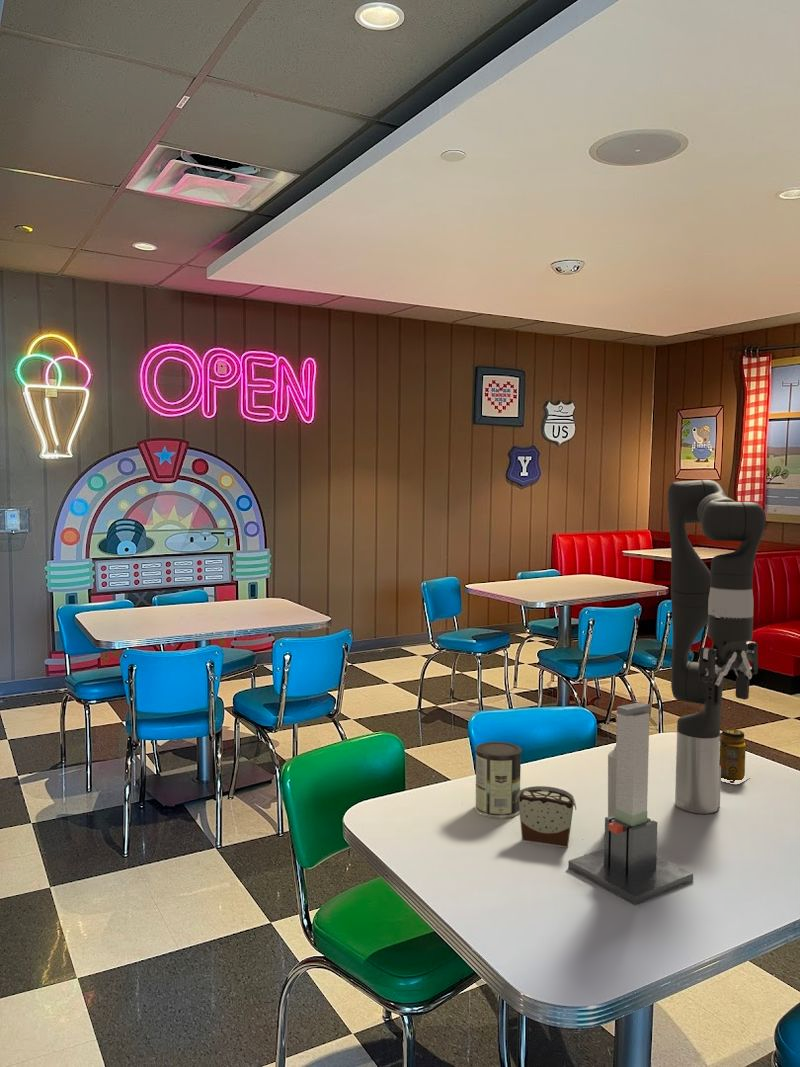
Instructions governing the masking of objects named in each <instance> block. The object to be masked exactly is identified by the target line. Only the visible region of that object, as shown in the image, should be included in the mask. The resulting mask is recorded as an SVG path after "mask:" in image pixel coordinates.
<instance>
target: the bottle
mask: <svg viewBox="0 0 800 1067" xmlns="http://www.w3.org/2000/svg"><path fill="white" fill-rule="evenodd" d="M615 722H616V733H615V734H616V736H615V737H616V738H615V739H616V741H615V746H614V748H613V749H612V750H611V751H609V752H608V754H607V817H608V816H612V815H615V808H616V774H617V730H618V714H617V715H616V720H615Z"/></svg>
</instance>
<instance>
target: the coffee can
mask: <svg viewBox="0 0 800 1067" xmlns="http://www.w3.org/2000/svg"><path fill="white" fill-rule="evenodd" d="M521 754H522V748H521V747H520V746H519V745H517V744H514V743H510V742H505V741H488V742H482V743H479V744H477V745H476V746H475V806H476V809H475V811H476V810H477V811H478V812H479V813H481V814H483V815H482V816H484V815H485V816H484V817H487V816H489V817H488V818H490V817H493V818H492V819H509V818H513V817H516V816H518V815H520V812H519V801H517V802H516V797H517V795H518V792H519V791H520V790H521V768H522V767H521V766H522V764H521V762H522V761H521V760H522V759H521V757H522V755H521ZM477 811H476V812H477ZM478 812H477V813H478ZM479 813H478V814H479ZM481 814H480V815H481Z"/></svg>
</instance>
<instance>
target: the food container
mask: <svg viewBox="0 0 800 1067" xmlns="http://www.w3.org/2000/svg"><path fill="white" fill-rule="evenodd" d="M517 801H519V812H520V813H519V820H520V821H519V822H520V823H519V824H520V832H521V842H526V843H533V844H540V845H545V846H546V845H547V846H553V847H559V848H569V843H570V835H571V828H572V818H573V813H574V812H573V811H574V809H575V811H577V805H576V801H575V798H574V795H573V794H572V793H571V792H569V791H566V790H564V789H561V788H558V787H554V786H547V785H546V786H544V785H538V786H537V785H536V786H535V785H534V786H527V787H525V788H522V789H520V791H519V792H518V795H517V797H516V802H517Z"/></svg>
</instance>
